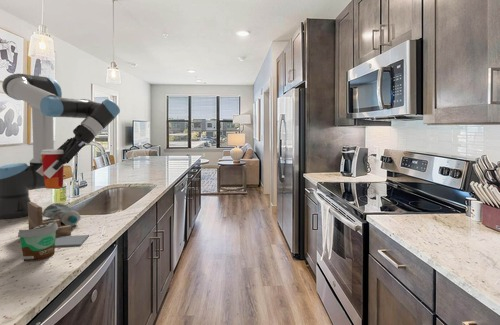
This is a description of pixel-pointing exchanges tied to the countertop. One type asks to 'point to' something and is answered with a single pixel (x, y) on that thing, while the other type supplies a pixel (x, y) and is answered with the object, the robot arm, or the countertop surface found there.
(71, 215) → the crushed grey plastic bottle
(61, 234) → the walnut rack
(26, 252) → the food container
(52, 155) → the paper cup
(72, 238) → the charcoal mat
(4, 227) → the countertop surface
